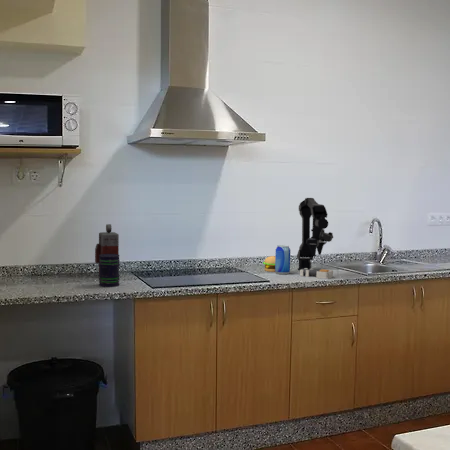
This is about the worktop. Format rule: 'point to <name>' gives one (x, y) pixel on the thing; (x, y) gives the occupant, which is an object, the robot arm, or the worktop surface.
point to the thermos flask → (107, 243)
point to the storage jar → (109, 270)
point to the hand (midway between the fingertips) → (316, 255)
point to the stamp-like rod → (313, 271)
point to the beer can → (282, 260)
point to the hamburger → (270, 264)
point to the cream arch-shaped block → (324, 274)
